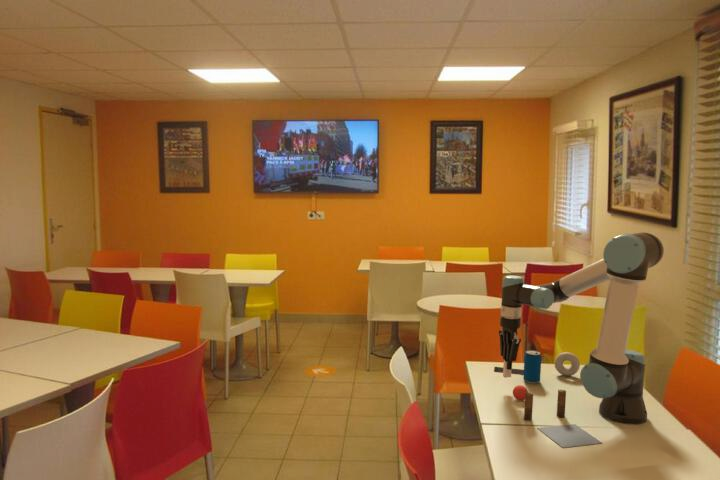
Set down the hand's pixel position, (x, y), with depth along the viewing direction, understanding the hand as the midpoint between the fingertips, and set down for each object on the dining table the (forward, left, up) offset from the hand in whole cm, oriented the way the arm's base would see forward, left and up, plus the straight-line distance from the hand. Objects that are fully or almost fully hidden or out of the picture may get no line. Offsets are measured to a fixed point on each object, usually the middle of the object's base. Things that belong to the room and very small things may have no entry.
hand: (507, 376), depth 221 cm
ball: (-10, 0, -3) cm, 10 cm away
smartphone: (+20, -13, -6) cm, 25 cm away
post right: (-26, -6, -6) cm, 27 cm away
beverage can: (+7, -15, -6) cm, 18 cm away
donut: (+10, -33, -6) cm, 35 cm away
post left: (-26, +6, -6) cm, 27 cm away
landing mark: (-40, 0, -6) cm, 40 cm away
